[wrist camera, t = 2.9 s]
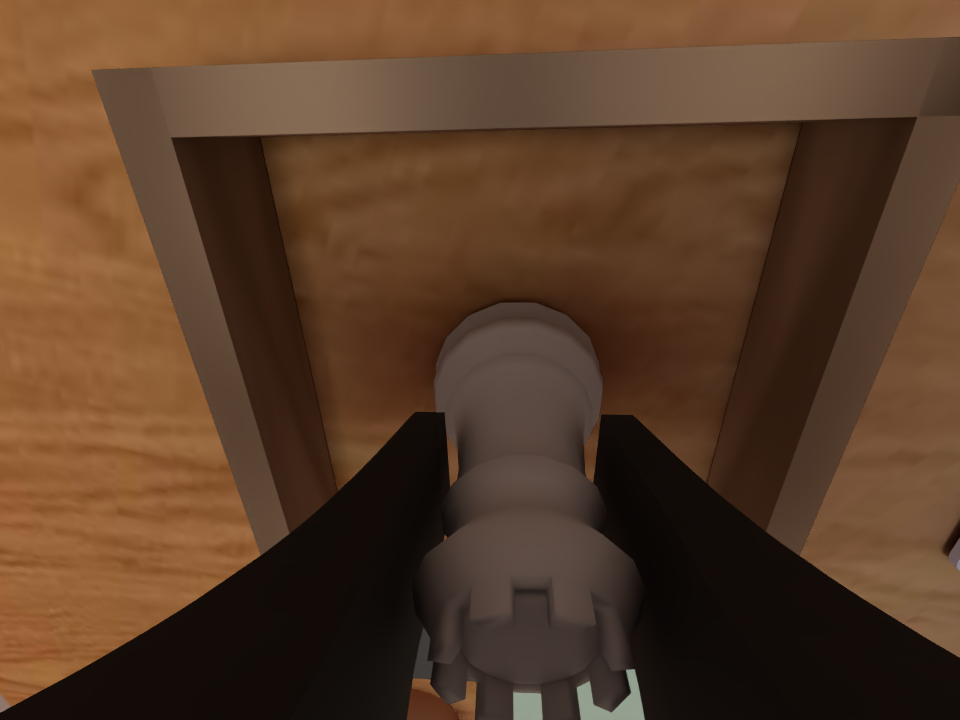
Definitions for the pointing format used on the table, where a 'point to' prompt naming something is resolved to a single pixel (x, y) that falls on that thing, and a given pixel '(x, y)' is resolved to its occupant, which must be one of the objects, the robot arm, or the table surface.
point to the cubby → (559, 105)
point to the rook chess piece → (525, 524)
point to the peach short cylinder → (429, 707)
